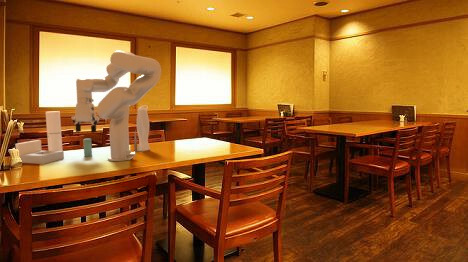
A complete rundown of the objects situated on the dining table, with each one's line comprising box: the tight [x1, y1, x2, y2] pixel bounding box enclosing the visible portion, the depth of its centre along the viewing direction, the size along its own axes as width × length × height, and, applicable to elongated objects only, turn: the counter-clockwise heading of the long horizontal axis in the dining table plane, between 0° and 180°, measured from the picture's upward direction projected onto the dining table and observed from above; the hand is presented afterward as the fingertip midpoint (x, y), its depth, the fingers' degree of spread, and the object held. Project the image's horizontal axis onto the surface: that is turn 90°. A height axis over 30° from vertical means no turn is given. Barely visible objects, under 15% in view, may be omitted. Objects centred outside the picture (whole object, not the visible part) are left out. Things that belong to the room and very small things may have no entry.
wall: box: [14, 139, 42, 156], centre depth 169 cm, size 2×14×10 cm, turn 168°
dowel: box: [82, 138, 93, 158], centre depth 178 cm, size 4×4×10 cm
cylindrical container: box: [45, 110, 64, 151], centre depth 185 cm, size 7×7×25 cm
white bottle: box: [133, 104, 151, 153], centre depth 196 cm, size 8×8×28 cm
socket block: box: [20, 149, 65, 165], centre depth 167 cm, size 14×14×4 cm
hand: (86, 132), depth 177 cm, fingers open, 9 cm apart
